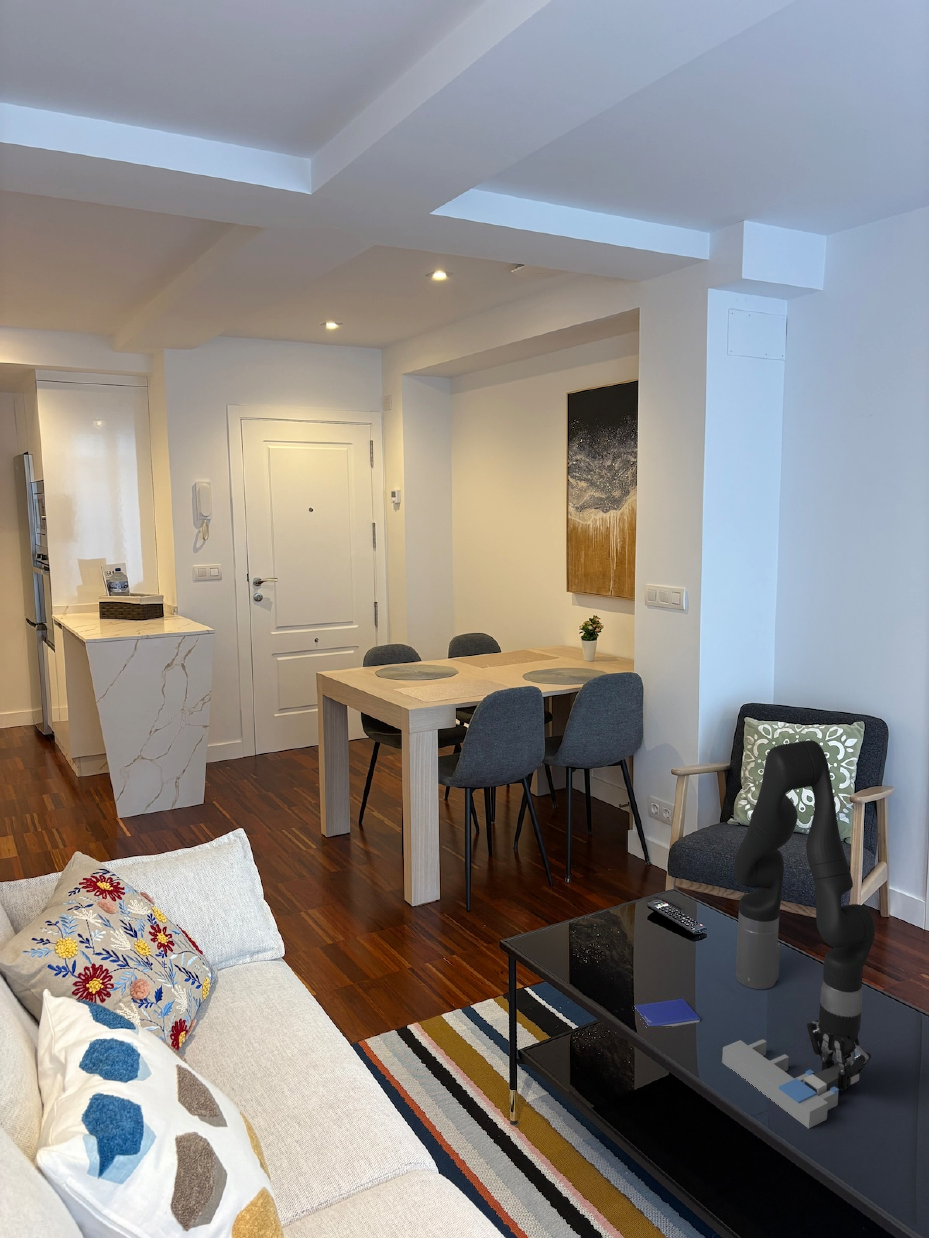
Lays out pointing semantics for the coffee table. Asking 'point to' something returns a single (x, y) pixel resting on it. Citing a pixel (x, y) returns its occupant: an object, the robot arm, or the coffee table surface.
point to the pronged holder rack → (779, 1082)
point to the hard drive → (667, 1013)
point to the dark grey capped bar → (826, 1079)
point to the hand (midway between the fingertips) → (835, 1082)
